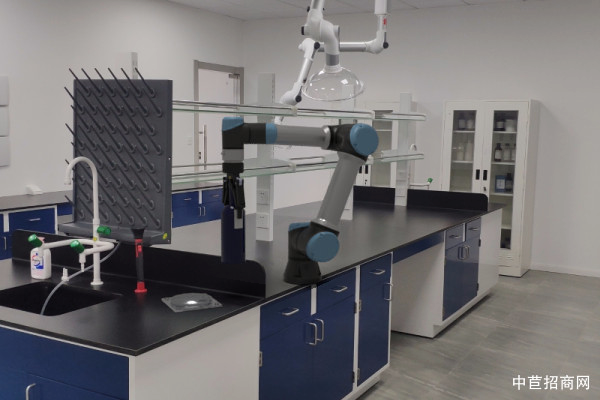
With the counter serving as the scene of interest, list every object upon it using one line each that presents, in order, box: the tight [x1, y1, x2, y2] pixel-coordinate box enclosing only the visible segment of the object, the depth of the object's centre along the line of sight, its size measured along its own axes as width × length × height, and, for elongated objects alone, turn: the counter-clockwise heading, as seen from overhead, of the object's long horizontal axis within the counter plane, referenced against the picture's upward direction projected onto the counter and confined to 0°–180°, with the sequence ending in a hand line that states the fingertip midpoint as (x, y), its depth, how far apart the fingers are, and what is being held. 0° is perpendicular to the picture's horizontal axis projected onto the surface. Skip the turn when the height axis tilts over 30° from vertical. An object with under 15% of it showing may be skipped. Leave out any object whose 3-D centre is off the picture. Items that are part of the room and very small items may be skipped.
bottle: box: [220, 176, 247, 265], centre depth 219 cm, size 9×9×30 cm
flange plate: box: [161, 292, 223, 313], centre depth 212 cm, size 16×16×2 cm
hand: (233, 226), depth 220 cm, fingers closed on bottle, 9 cm apart
